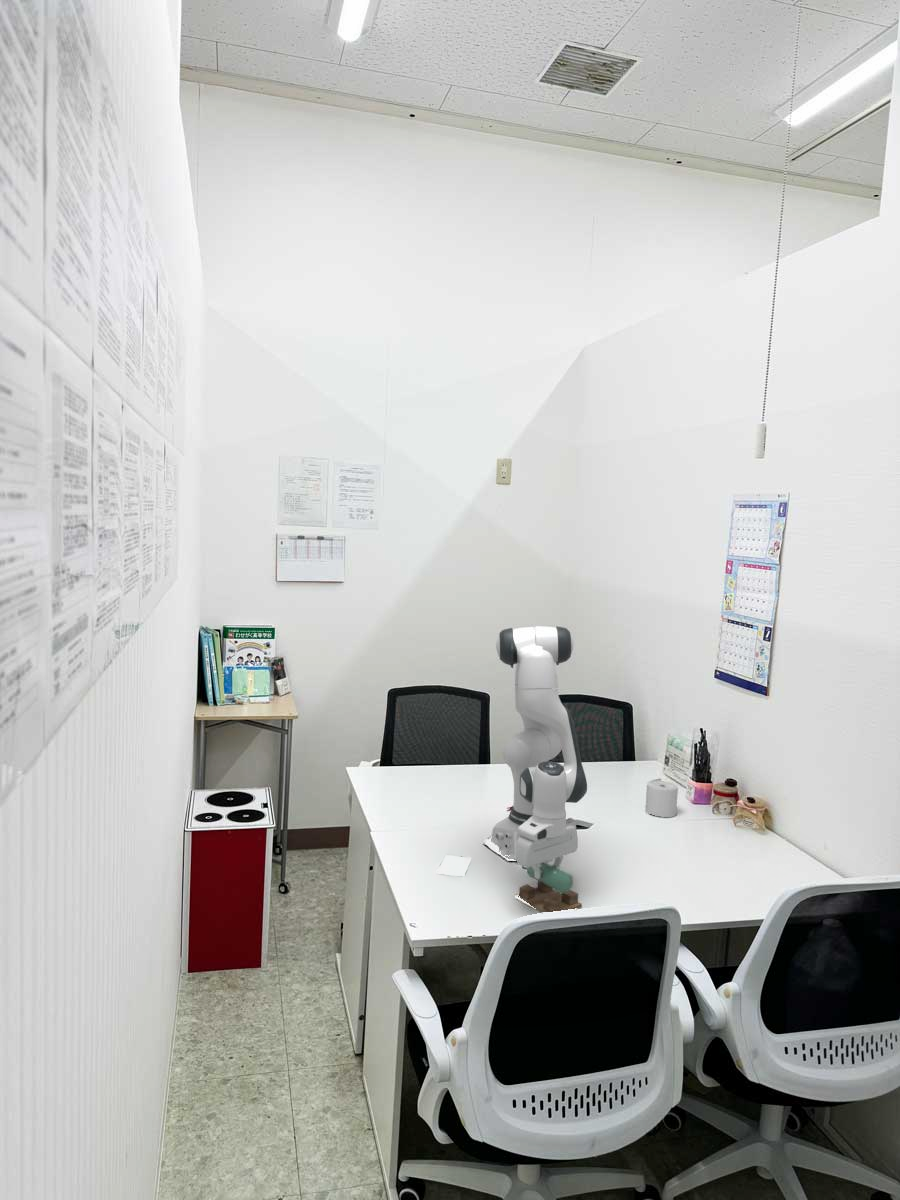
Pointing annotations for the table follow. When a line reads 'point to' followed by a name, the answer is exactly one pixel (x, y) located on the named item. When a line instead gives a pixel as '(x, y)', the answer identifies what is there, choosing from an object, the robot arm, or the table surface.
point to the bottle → (553, 877)
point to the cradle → (548, 898)
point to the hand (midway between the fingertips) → (547, 874)
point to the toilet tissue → (661, 798)
